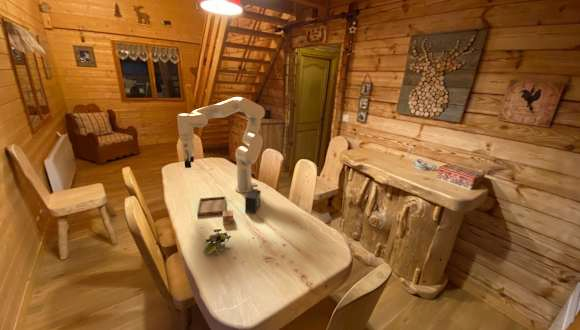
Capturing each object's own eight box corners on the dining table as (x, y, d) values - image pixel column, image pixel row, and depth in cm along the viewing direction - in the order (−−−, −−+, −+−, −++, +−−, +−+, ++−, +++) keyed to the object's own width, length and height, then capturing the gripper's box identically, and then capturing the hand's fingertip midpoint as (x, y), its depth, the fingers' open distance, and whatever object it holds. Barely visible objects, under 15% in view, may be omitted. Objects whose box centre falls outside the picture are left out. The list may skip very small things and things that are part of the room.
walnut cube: (233, 218, 135) (232, 210, 133) (233, 224, 130) (233, 215, 128) (223, 219, 133) (222, 211, 131) (223, 225, 128) (222, 216, 126)
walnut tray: (225, 199, 154) (225, 196, 154) (225, 214, 139) (225, 210, 138) (200, 201, 150) (199, 198, 150) (197, 216, 135) (197, 213, 134)
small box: (255, 214, 140) (255, 198, 136) (244, 212, 141) (244, 197, 137) (260, 205, 150) (261, 190, 146) (251, 204, 151) (251, 189, 147)
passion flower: (219, 253, 116) (231, 230, 117) (225, 264, 106) (238, 239, 108) (197, 246, 110) (210, 223, 111) (202, 258, 101) (216, 232, 102)
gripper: (191, 140, 126) (194, 169, 132) (196, 132, 142) (198, 159, 148) (175, 140, 124) (179, 170, 130) (182, 132, 140) (185, 160, 146)
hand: (189, 164), depth 139 cm, fingers open, 9 cm apart
